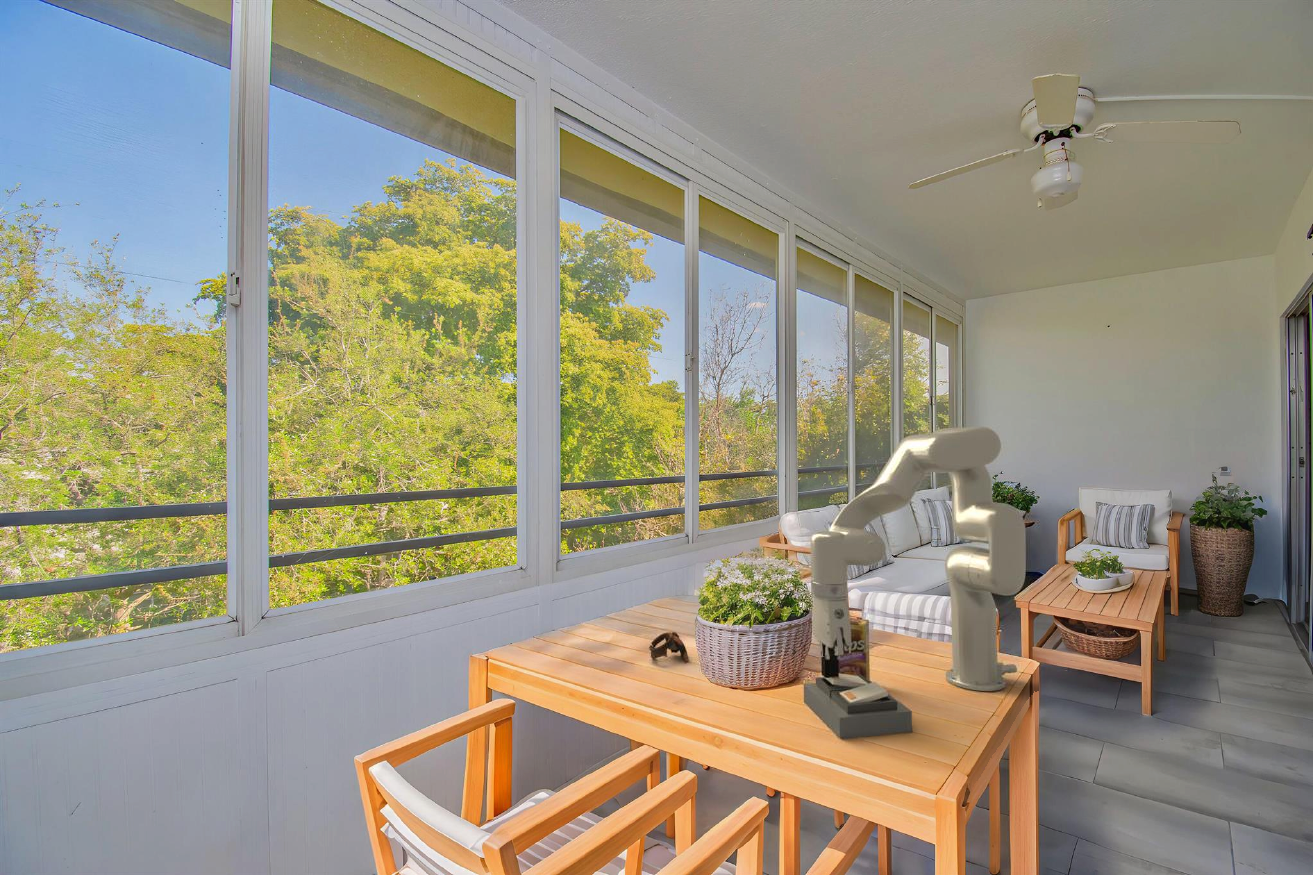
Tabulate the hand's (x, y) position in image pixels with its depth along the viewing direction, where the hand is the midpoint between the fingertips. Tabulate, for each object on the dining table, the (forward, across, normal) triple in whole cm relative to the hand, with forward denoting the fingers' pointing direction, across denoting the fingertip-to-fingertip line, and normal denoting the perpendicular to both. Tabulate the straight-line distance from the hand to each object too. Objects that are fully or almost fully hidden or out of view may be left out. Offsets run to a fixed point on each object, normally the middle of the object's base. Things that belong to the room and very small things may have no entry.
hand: (830, 676), depth 136 cm
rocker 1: (+1, 0, -4) cm, 4 cm away
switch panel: (+7, -4, -4) cm, 9 cm away
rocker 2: (+1, -8, -4) cm, 9 cm away
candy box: (+7, +13, -11) cm, 18 cm away
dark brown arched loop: (+8, +39, +28) cm, 49 cm away
